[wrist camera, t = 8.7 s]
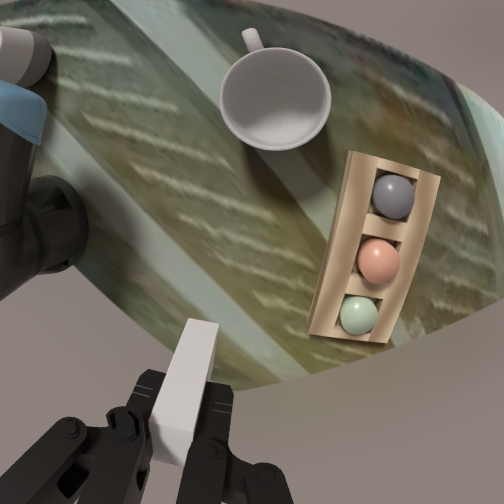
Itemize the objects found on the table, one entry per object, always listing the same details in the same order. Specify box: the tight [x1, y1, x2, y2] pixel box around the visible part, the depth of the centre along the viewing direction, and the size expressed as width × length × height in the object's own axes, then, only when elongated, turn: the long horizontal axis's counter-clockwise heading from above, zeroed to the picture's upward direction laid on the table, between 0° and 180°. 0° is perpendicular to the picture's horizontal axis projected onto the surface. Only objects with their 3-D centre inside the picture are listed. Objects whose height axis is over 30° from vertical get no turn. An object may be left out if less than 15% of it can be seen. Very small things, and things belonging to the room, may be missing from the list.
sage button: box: [339, 294, 378, 335], centre depth 39 cm, size 5×5×3 cm
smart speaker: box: [0, 26, 52, 88], centre depth 26 cm, size 10×9×14 cm
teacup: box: [219, 28, 331, 151], centre depth 30 cm, size 14×11×8 cm
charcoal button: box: [370, 174, 415, 219], centre depth 34 cm, size 5×5×3 cm
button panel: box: [306, 151, 440, 343], centre depth 38 cm, size 12×24×3 cm, turn 171°
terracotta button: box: [356, 237, 400, 284], centre depth 36 cm, size 5×5×3 cm
